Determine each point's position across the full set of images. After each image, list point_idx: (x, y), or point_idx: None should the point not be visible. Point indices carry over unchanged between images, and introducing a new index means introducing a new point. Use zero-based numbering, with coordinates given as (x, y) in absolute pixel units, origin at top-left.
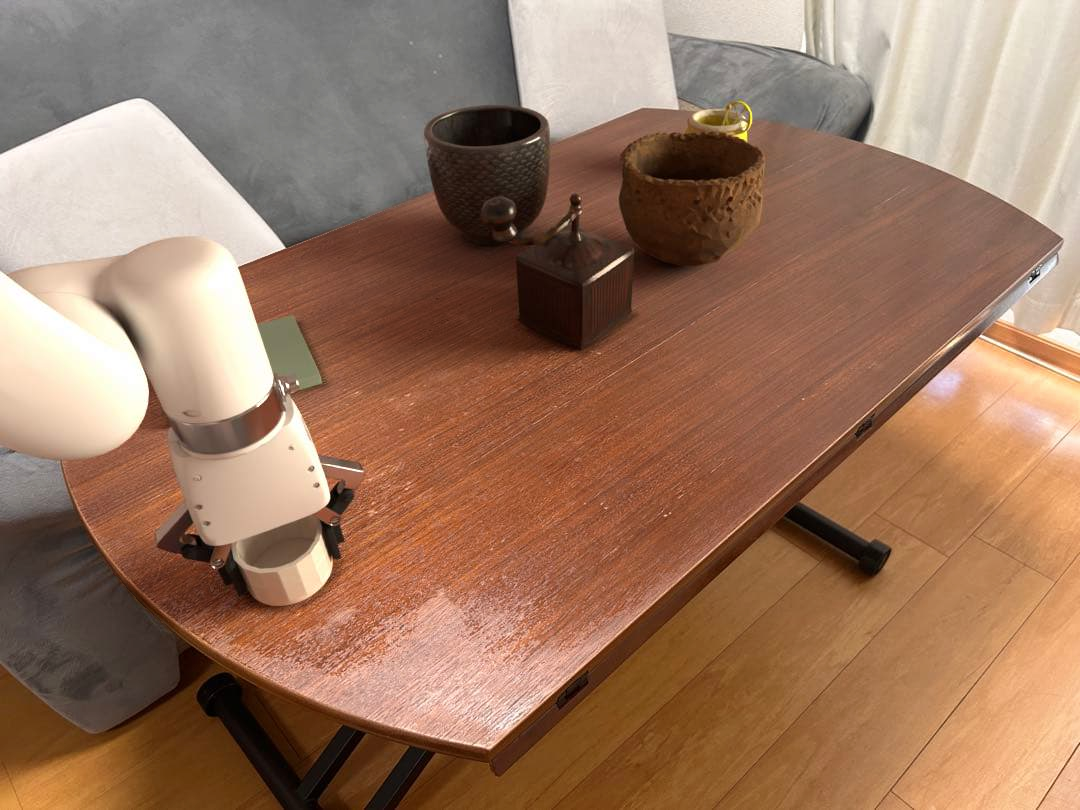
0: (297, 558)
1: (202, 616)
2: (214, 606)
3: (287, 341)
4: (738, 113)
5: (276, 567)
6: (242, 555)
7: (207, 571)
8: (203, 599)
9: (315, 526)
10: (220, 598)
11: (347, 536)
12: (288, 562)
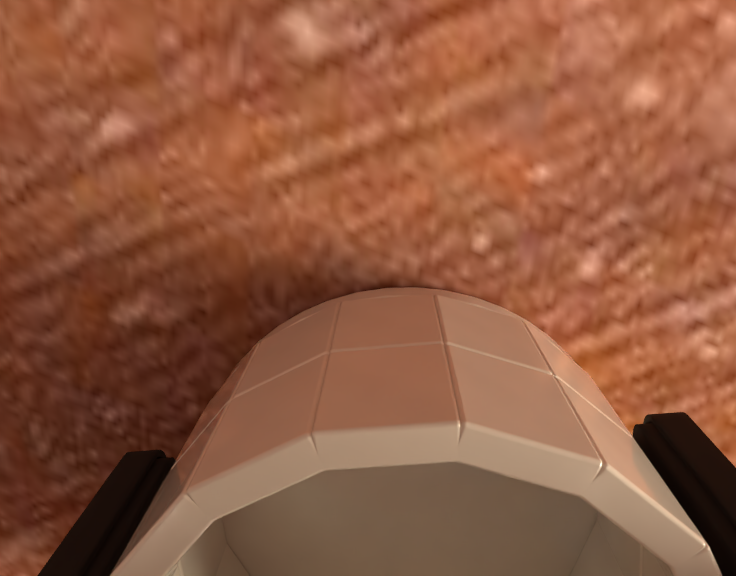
0: (454, 463)
1: (17, 562)
2: (62, 535)
3: None
4: None
5: (345, 478)
6: (172, 572)
7: (3, 332)
8: (8, 483)
9: (663, 570)
10: (84, 505)
11: (725, 380)
12: (407, 469)
